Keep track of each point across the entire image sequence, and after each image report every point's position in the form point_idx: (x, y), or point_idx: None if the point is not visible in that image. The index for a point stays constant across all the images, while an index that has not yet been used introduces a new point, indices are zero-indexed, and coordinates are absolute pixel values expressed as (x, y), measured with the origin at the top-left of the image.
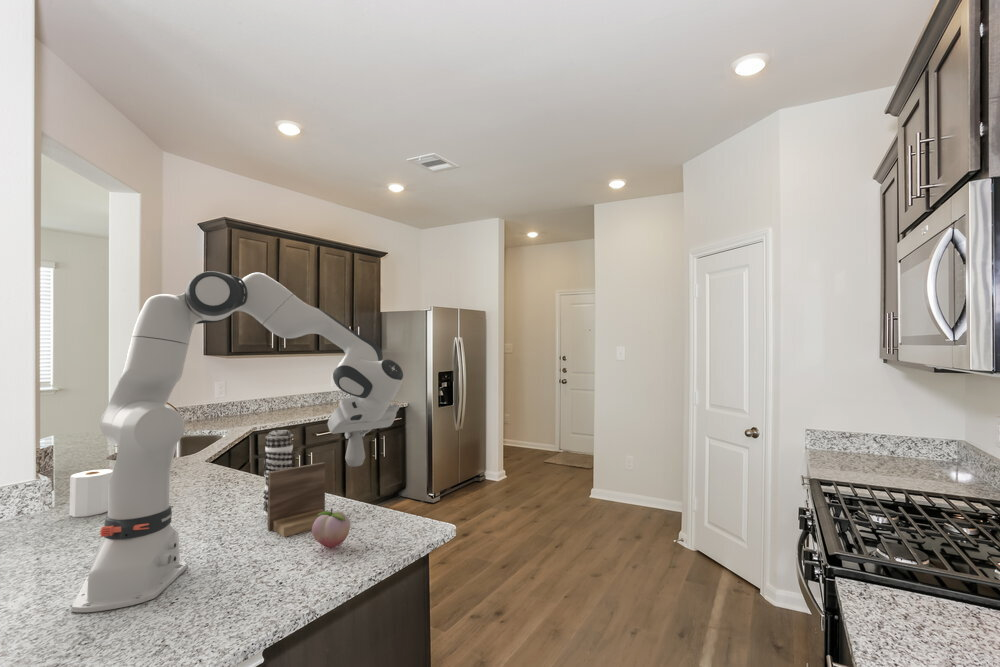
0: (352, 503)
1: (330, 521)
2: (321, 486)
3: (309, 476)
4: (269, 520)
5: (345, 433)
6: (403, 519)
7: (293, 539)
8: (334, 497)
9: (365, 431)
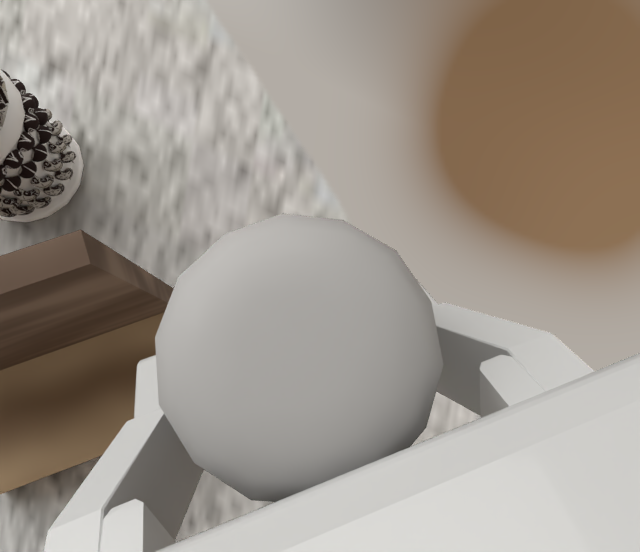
0: (315, 194)
1: None
2: (125, 297)
3: (15, 315)
4: None
5: (139, 388)
6: None
7: (34, 535)
8: (258, 84)
9: (445, 382)
